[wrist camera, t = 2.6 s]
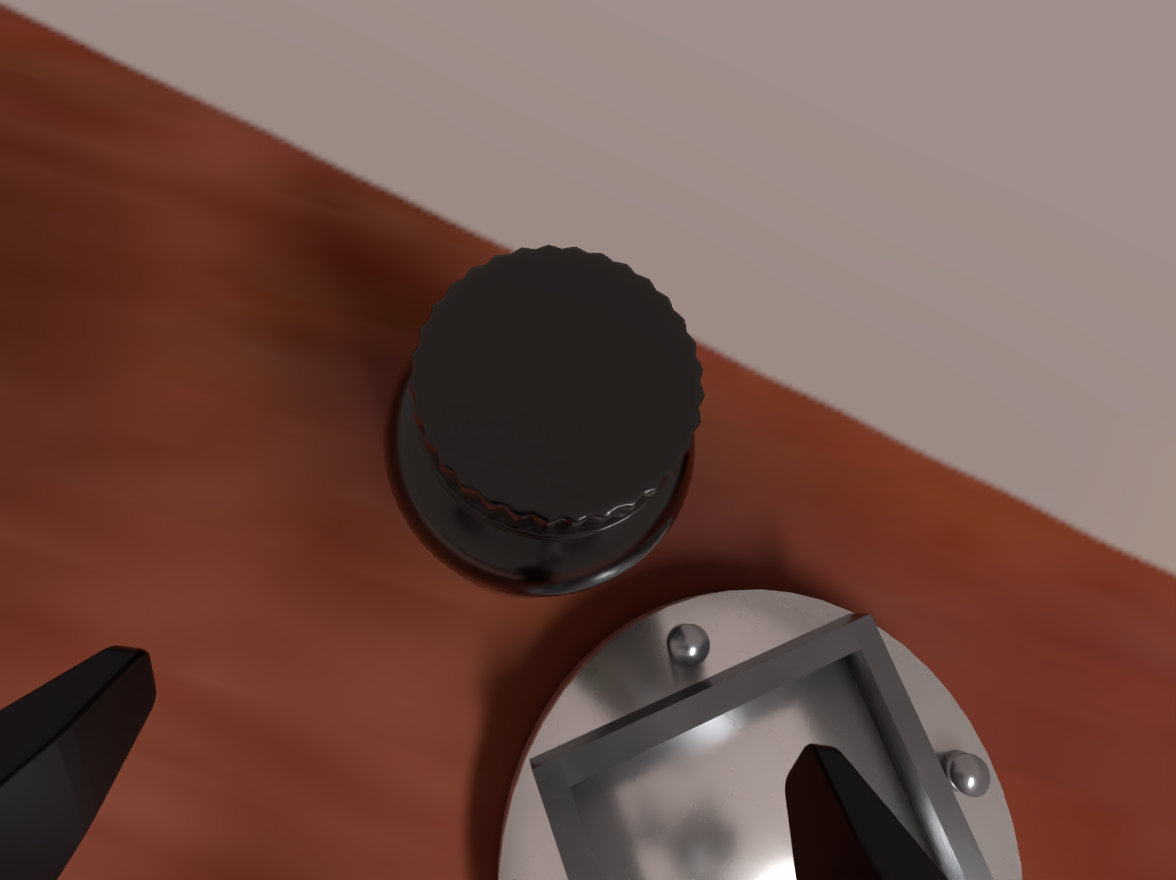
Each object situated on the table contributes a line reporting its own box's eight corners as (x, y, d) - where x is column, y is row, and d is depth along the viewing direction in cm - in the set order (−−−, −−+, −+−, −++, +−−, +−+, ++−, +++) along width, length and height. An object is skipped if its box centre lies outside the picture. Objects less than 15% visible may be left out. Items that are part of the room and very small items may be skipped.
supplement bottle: (406, 426, 21) (306, 209, 10) (594, 388, 23) (698, 161, 11) (446, 626, 20) (383, 646, 8) (645, 572, 21) (826, 526, 10)
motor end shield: (615, 1323, 16) (639, 1462, 13) (427, 702, 19) (417, 716, 16) (1073, 998, 19) (1162, 1058, 17) (851, 526, 23) (897, 515, 20)
